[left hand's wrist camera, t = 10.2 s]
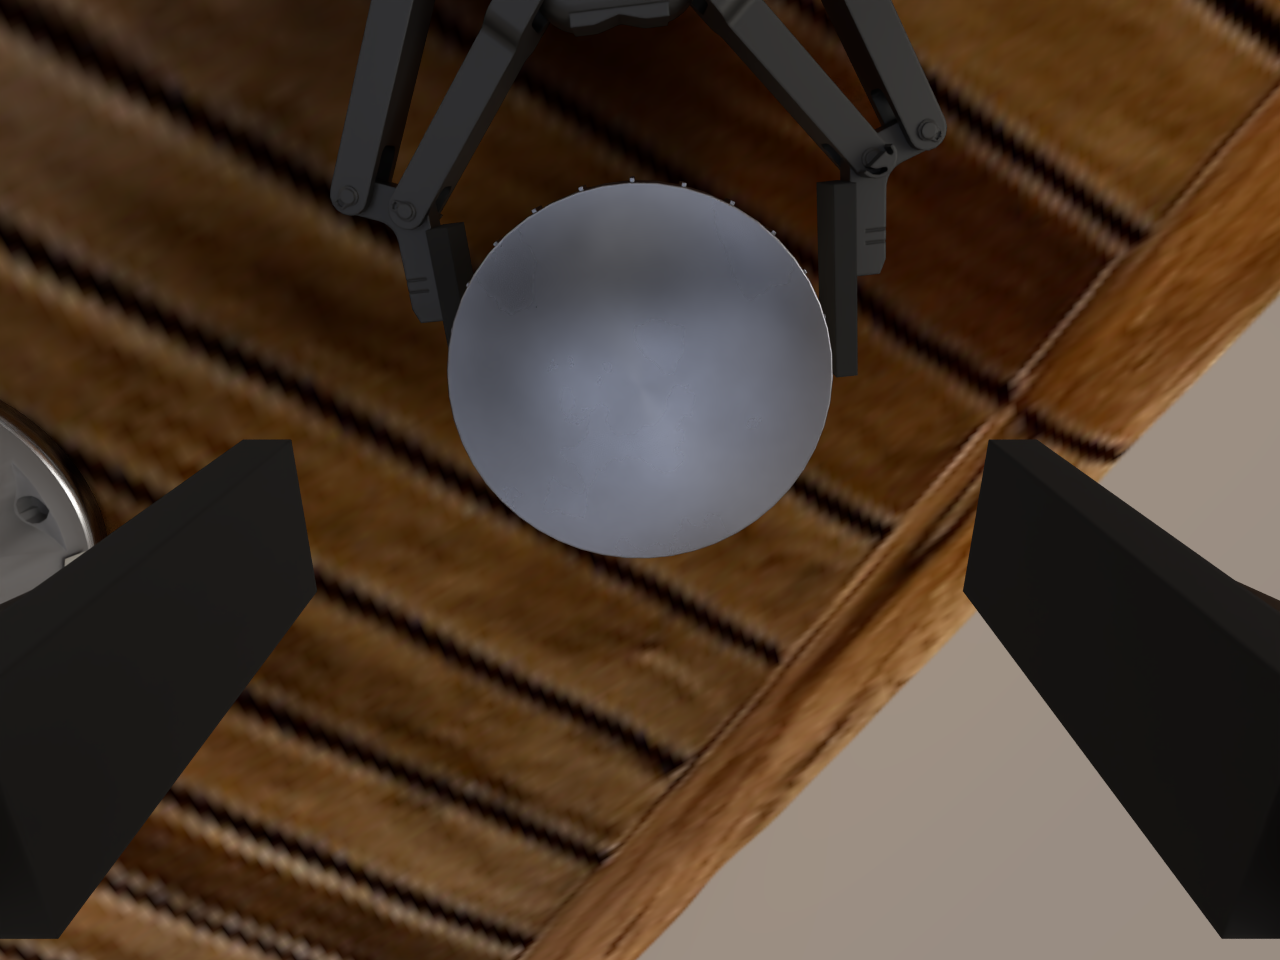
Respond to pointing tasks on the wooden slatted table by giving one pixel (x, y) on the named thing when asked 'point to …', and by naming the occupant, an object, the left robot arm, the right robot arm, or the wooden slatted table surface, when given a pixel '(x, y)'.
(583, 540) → the lid
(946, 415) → the wooden slatted table surface
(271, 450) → the left robot arm
